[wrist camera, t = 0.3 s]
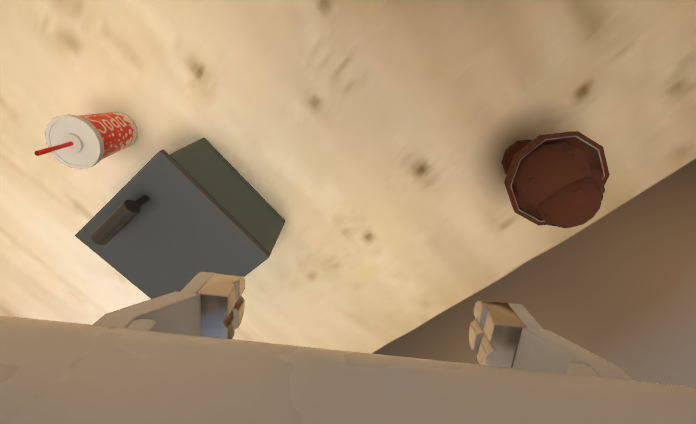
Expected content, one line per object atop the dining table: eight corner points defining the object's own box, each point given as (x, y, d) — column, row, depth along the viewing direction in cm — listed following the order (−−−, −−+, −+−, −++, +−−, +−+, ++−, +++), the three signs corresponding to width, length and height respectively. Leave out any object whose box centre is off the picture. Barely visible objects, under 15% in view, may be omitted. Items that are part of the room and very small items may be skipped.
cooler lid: (79, 232, 45) (47, 252, 40) (163, 149, 41) (138, 160, 36) (185, 321, 49) (167, 347, 45) (270, 254, 45) (260, 276, 41)
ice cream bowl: (580, 160, 50) (665, 198, 36) (510, 212, 53) (564, 266, 39) (536, 100, 47) (610, 117, 33) (465, 159, 50) (506, 197, 37)
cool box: (131, 207, 54) (85, 237, 45) (204, 137, 50) (169, 154, 41) (212, 279, 59) (185, 320, 50) (285, 221, 55) (270, 253, 45)
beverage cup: (151, 140, 51) (80, 168, 38) (116, 158, 52) (35, 191, 39) (124, 98, 49) (39, 111, 36) (87, 117, 50) (-9, 138, 37)
